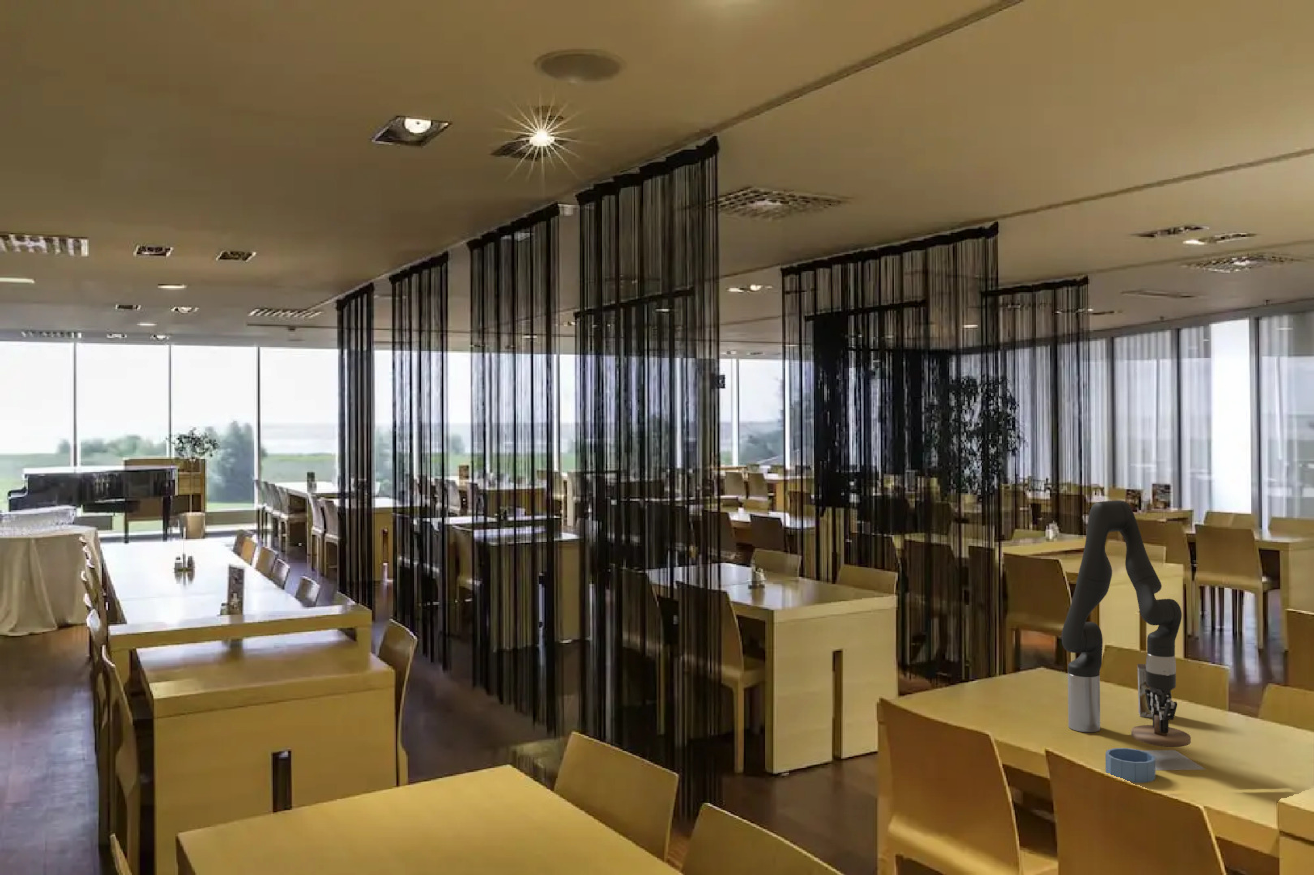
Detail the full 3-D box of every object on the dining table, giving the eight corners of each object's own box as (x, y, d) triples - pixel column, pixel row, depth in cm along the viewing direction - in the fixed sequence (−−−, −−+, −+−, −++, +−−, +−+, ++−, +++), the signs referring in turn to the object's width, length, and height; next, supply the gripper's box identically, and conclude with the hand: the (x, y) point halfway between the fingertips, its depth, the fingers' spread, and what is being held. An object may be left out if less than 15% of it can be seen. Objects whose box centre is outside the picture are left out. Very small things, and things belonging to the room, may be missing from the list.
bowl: (1098, 770, 275) (1098, 748, 275) (1141, 769, 275) (1141, 747, 275) (1118, 785, 263) (1118, 763, 263) (1164, 785, 263) (1163, 762, 263)
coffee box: (1168, 714, 326) (1168, 665, 325) (1170, 719, 320) (1170, 669, 319) (1137, 711, 329) (1137, 663, 329) (1139, 717, 323) (1138, 667, 323)
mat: (1119, 753, 288) (1119, 750, 288) (1175, 752, 288) (1175, 749, 288) (1147, 773, 272) (1147, 770, 272) (1205, 772, 272) (1205, 769, 272)
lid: (1121, 729, 288) (1121, 708, 288) (1172, 728, 288) (1173, 707, 288) (1147, 747, 273) (1147, 725, 273) (1201, 746, 273) (1201, 724, 273)
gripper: (1135, 663, 287) (1135, 722, 288) (1160, 677, 273) (1160, 739, 273) (1161, 663, 287) (1161, 722, 288) (1187, 676, 273) (1187, 738, 273)
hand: (1160, 730), depth 281 cm, fingers closed on lid, 3 cm apart
